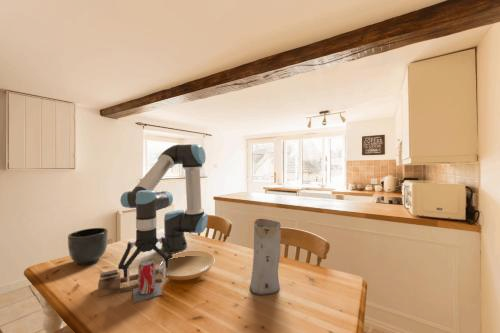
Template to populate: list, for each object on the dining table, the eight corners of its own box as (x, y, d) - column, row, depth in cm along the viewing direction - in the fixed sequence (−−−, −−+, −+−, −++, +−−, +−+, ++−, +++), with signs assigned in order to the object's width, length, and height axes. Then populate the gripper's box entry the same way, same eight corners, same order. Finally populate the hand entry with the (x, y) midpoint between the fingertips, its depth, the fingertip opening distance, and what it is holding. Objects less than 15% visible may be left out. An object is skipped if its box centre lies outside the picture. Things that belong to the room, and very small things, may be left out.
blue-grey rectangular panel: (118, 271, 94) (118, 269, 88) (118, 274, 93) (118, 271, 87) (100, 276, 90) (98, 273, 84) (100, 278, 90) (98, 276, 84)
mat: (158, 283, 96) (158, 282, 96) (161, 294, 87) (161, 293, 87) (132, 289, 91) (132, 288, 91) (133, 303, 82) (133, 301, 82)
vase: (259, 301, 83) (260, 229, 83) (243, 283, 96) (244, 220, 95) (286, 292, 89) (288, 225, 89) (268, 276, 102) (270, 217, 101)
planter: (114, 258, 122) (114, 229, 122) (80, 272, 106) (79, 239, 106) (96, 253, 129) (95, 226, 129) (61, 265, 114) (60, 234, 113)
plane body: (158, 272, 106) (158, 262, 106) (161, 281, 97) (161, 270, 97) (100, 286, 94) (100, 274, 94) (97, 298, 85) (97, 285, 85)
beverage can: (148, 296, 85) (148, 266, 85) (135, 294, 87) (134, 265, 87) (158, 287, 92) (158, 259, 91) (145, 286, 93) (145, 258, 93)
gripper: (175, 221, 98) (176, 268, 99) (111, 230, 86) (111, 284, 86) (179, 225, 92) (179, 276, 92) (110, 235, 79) (110, 293, 80)
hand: (146, 280), depth 89 cm, fingers open, 13 cm apart
